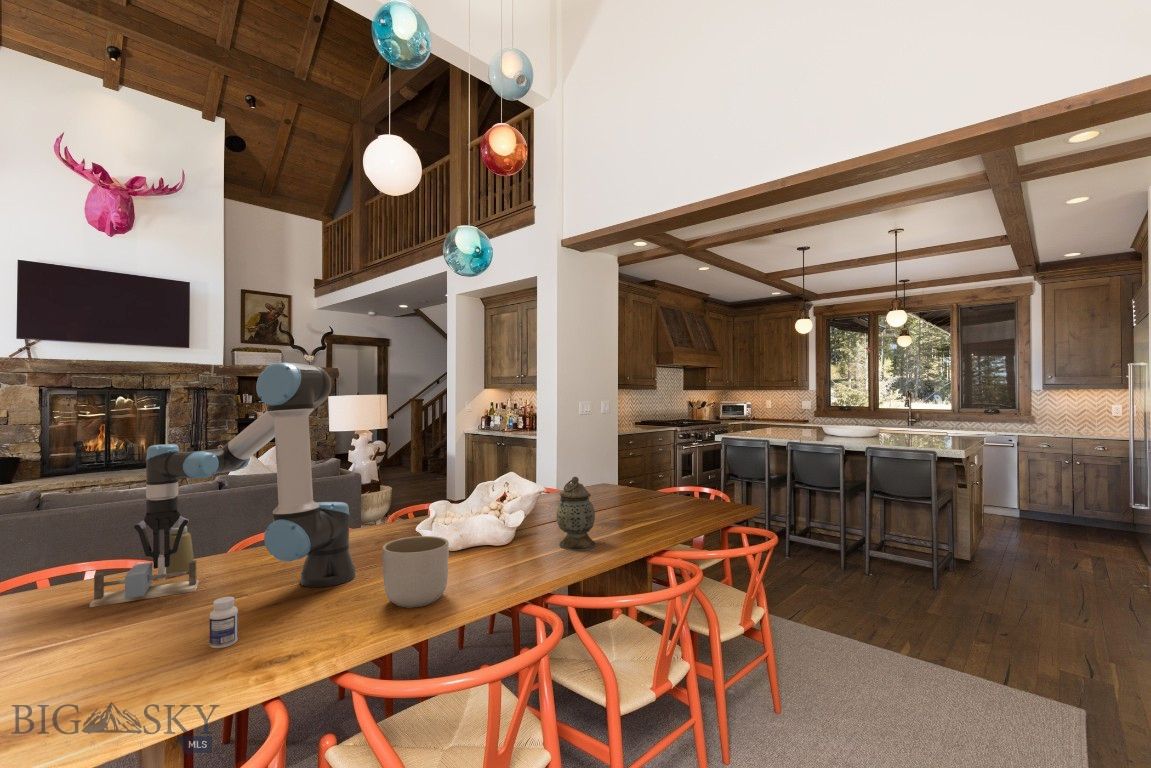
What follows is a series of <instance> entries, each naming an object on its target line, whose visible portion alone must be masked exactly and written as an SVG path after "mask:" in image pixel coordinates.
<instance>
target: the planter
mask: <svg viewBox="0 0 1151 768" xmlns="http://www.w3.org/2000/svg"><path fill="white" fill-rule="evenodd" d="M449 549H450V548H449V541H448V539H446V538H444V537H440V536H433V535H430V536H429V535H418V536H409V537H402V538H398V539H395V540H391V541H389V542H387V543H385V544H384V545H383V546H382V574H383V588H384V592H385V595H386V597H387V599H388V600H389V601H390V602H392V603H393V604H394V605H396V606H398V607H401V608H409V609H411V608H420V607H425V606H428V605H431V604H433V603H434V602H436V601H437V600H438V599H439V598H440V597H441V596H442V595H443V594H444V592H445V591H446V588H447V584H448V578H449V577H448V576H449Z"/></svg>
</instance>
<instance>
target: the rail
mask: <svg viewBox="0 0 1151 768" xmlns="http://www.w3.org/2000/svg"><path fill="white" fill-rule="evenodd" d="M197 562H198V561H197V560H195V559H194V560H193V561H190V563H189V571H184V572H177V573H169V574H162V575H158V574H156V575H153V576H148V580H152V579H153V580H158V579H160V578H165V579H167V578H172V577H180V576H186V575H188V581H187V580H186V581H180V582H172V583H167V584H166V583H165V584H160V585H159V584H158V585H153V586H152V585H151V586H150V587H149V589H148V590H147V592H146V593H145V594H144V596H138V597H132V598H125V589H123V590H117V591H110V592H104V591H105V589H104V588H105V587H108V586H116V585H123V584H124V585H125V579H120V580H119V579H118V580H112V581H111V580H110V581H105V572H104V571H103V572H96V573H95V574H93V575H94V576H93V583H94V584H93V599H92V600H91V602H89V608H94V607H101V606H107V605H108V606H109V605H113V604H120V603H125V602H126V603H127V602H128V603H129V602H133V601H140V600H148V599H153V598H160V597H166V596H173V595H178V594H179V595H180V594H185V593H193V592H196V590H197V587H198V585H199V582H200V580H199V579H197Z"/></svg>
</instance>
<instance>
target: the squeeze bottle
mask: <svg viewBox="0 0 1151 768" xmlns="http://www.w3.org/2000/svg"><path fill="white" fill-rule="evenodd" d="M178 523H179V521H178V520H177V522H176V523H175V524H174V525H173V526H172V527H171V549H173V546H174V542H175V539H176V536H177V532H178V529H179V527H180V525H179V524H178ZM162 555H164V552H163V554H162ZM194 560H195V559H194V551H193V541H192V534H191V533H190V532H188V526H187V525H186V526H185V528H184V531H183V535H182V538H181V542H180V545H179V548H178V551H177V552H176V553H173V554H171V556H170V566H169V567H166V574H169V573H177V572H184V571H189V563H190V561H194Z"/></svg>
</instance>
